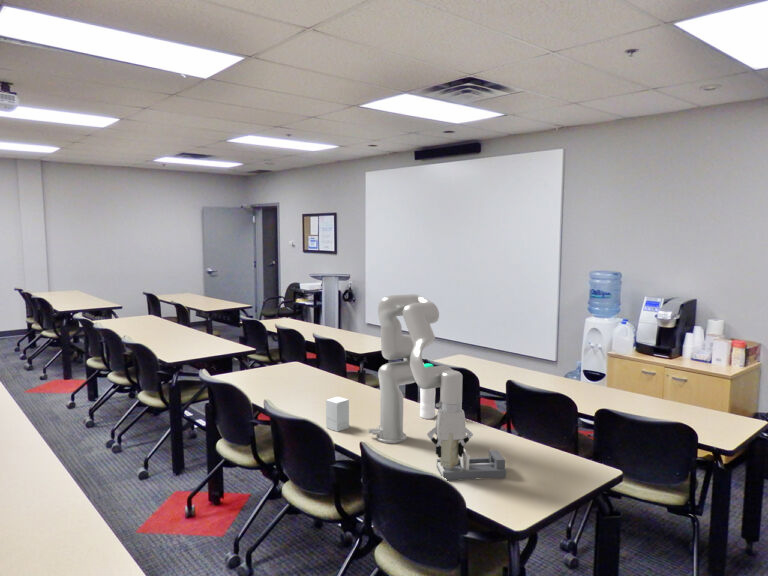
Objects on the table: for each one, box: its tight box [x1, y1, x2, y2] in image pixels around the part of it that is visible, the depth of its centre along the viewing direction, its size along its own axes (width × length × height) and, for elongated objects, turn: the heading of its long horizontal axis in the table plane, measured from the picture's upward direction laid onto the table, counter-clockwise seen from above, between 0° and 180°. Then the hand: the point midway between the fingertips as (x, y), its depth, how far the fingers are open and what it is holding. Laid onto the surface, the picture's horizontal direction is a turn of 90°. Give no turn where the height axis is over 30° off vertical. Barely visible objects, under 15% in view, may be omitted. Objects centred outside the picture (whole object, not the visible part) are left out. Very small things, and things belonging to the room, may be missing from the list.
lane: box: [436, 449, 507, 481], centre depth 182 cm, size 22×11×6 cm, turn 96°
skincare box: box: [440, 434, 460, 468], centre depth 180 cm, size 6×4×12 cm
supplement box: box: [325, 396, 350, 432], centre depth 224 cm, size 7×7×13 cm
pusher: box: [459, 448, 494, 470], centre depth 182 cm, size 15×8×6 cm, turn 96°
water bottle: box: [419, 363, 436, 420], centre depth 239 cm, size 7×7×25 cm
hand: (449, 455), depth 181 cm, fingers closed on skincare box, 7 cm apart
